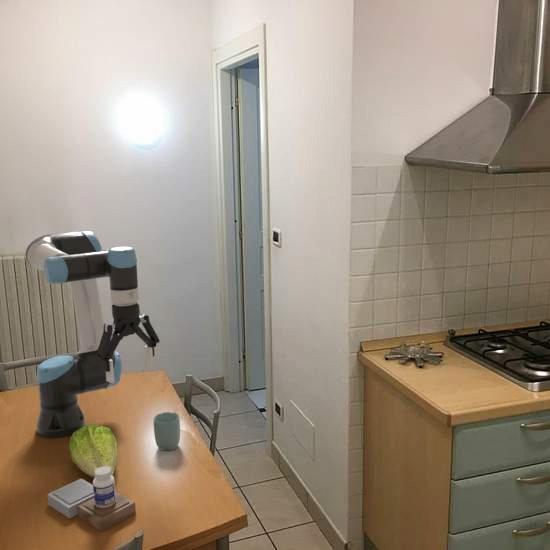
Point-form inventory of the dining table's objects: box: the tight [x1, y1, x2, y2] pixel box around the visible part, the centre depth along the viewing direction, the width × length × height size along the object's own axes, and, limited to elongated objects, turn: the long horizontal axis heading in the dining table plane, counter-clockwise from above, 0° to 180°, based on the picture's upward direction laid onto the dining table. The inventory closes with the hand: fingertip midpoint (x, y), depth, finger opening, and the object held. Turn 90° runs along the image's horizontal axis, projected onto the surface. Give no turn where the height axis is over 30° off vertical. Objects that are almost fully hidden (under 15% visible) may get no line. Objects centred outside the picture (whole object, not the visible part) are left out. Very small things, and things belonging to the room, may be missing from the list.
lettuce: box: [68, 423, 118, 479], centre depth 181 cm, size 12×24×13 cm
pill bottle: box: [92, 467, 117, 508], centre depth 157 cm, size 5×5×9 cm
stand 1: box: [46, 478, 94, 519], centre depth 164 cm, size 10×10×3 cm
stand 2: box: [78, 491, 137, 533], centre depth 158 cm, size 10×10×3 cm
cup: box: [152, 411, 181, 452], centre depth 192 cm, size 8×8×10 cm
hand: (130, 374), depth 180 cm, fingers open, 13 cm apart
